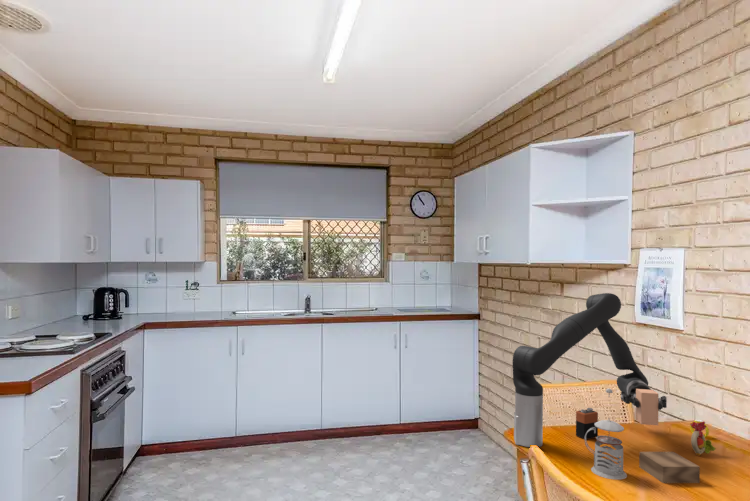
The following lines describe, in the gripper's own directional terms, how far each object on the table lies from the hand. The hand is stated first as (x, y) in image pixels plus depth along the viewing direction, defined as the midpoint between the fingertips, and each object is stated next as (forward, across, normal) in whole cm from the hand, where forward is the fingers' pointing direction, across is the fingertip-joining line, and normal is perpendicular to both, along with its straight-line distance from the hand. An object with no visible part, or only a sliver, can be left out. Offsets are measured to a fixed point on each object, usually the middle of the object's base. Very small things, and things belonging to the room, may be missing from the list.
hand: (648, 405), depth 152 cm
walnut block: (+8, +4, +18) cm, 20 cm away
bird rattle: (-15, +18, +18) cm, 30 cm away
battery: (-18, -17, +18) cm, 30 cm away
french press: (+14, -14, +18) cm, 26 cm away
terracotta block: (-3, 0, +6) cm, 7 cm away
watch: (-36, +23, +18) cm, 46 cm away
